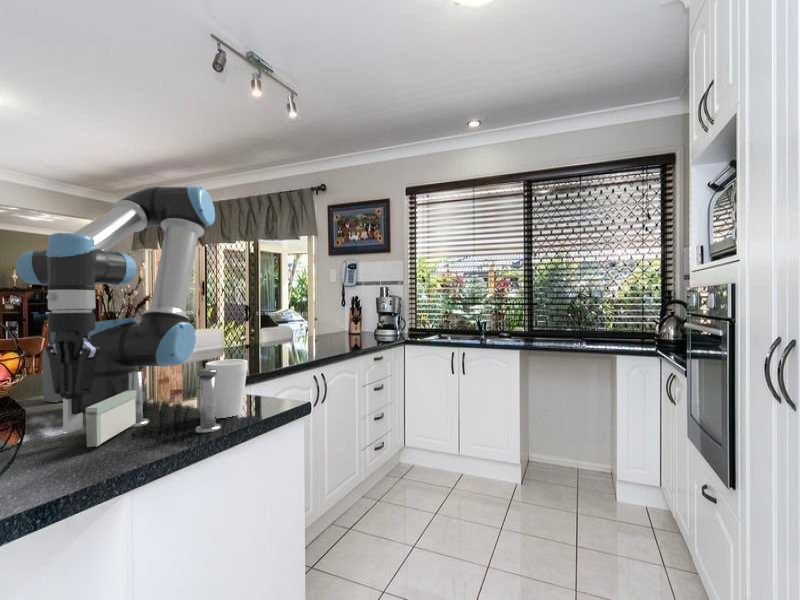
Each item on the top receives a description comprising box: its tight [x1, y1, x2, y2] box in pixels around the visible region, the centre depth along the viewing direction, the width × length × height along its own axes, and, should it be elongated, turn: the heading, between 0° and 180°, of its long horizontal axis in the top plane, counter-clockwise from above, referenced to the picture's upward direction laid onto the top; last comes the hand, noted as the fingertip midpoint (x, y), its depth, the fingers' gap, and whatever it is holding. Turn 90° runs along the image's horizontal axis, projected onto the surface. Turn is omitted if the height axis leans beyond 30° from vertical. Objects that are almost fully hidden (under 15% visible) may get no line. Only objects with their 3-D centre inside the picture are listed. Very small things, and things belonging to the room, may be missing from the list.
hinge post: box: [127, 370, 150, 429], centre depth 96 cm, size 5×5×12 cm
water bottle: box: [41, 311, 63, 402], centre depth 121 cm, size 10×10×28 cm
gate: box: [85, 390, 136, 448], centre depth 87 cm, size 15×2×7 cm, turn 7°
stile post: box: [194, 368, 222, 434], centre depth 92 cm, size 5×5×13 cm
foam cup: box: [205, 358, 249, 419], centre depth 103 cm, size 10×9×13 cm
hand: (73, 429), depth 84 cm, fingers closed
